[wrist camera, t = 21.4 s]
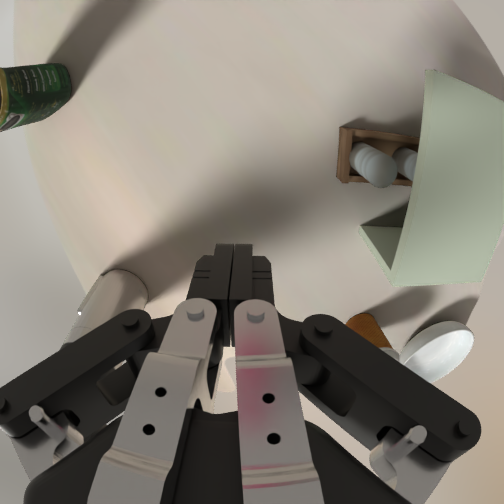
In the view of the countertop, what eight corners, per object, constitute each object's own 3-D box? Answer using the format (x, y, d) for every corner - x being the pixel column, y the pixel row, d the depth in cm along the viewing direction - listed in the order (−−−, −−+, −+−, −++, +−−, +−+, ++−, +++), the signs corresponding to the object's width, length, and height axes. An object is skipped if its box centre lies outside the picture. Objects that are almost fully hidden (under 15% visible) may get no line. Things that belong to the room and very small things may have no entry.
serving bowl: (399, 319, 52) (411, 343, 46) (472, 300, 50) (486, 320, 44) (381, 375, 62) (388, 396, 56) (446, 356, 61) (456, 375, 55)
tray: (336, 176, 37) (358, 200, 29) (339, 126, 33) (364, 137, 26) (443, 186, 37) (477, 209, 29) (450, 144, 33) (487, 160, 25)
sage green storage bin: (358, 232, 41) (392, 286, 30) (377, 73, 29) (433, 69, 18) (438, 236, 42) (480, 282, 30) (464, 100, 29) (525, 114, 18)
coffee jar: (66, 55, 26) (-26, 56, 10) (78, 97, 30) (-16, 118, 14) (25, 87, 28) (-61, 108, 12) (37, 127, 32) (-49, 162, 16)
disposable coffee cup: (343, 307, 49) (360, 358, 39) (388, 306, 49) (410, 353, 39) (331, 341, 54) (343, 390, 44) (373, 339, 54) (389, 385, 44)
